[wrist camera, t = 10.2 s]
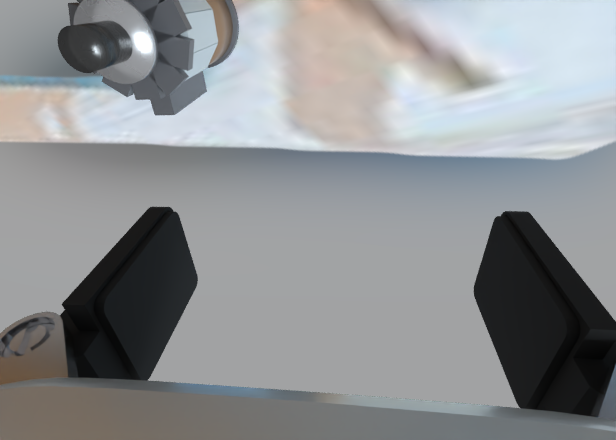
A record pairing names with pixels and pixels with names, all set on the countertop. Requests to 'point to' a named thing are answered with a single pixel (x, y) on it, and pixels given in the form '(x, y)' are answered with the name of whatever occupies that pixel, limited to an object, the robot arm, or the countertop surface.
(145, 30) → the plunger
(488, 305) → the robot arm
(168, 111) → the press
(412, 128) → the countertop surface
